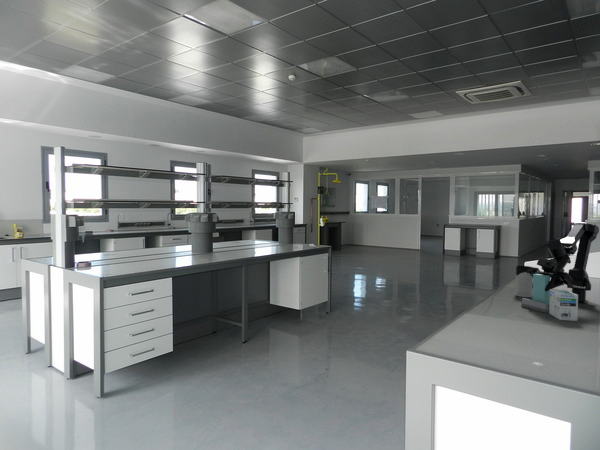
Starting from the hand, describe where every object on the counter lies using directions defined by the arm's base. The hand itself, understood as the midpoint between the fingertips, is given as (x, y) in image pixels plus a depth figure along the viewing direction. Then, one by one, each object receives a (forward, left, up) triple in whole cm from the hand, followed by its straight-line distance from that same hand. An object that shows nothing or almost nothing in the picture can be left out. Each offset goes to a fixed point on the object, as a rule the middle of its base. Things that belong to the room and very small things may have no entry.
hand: (538, 289), depth 176 cm
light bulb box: (+8, +12, -9) cm, 17 cm away
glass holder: (-29, -16, -9) cm, 35 cm away
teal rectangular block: (-1, +1, -7) cm, 7 cm away
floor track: (-1, +1, -9) cm, 9 cm away
